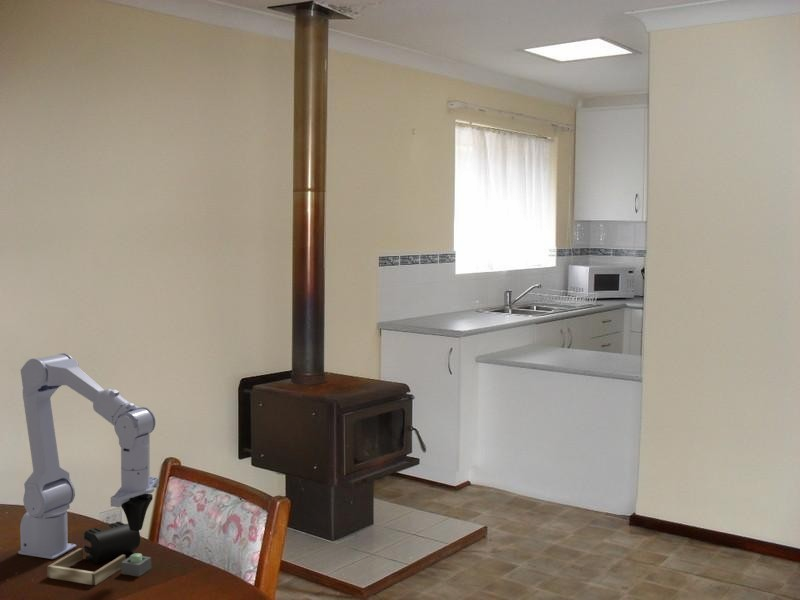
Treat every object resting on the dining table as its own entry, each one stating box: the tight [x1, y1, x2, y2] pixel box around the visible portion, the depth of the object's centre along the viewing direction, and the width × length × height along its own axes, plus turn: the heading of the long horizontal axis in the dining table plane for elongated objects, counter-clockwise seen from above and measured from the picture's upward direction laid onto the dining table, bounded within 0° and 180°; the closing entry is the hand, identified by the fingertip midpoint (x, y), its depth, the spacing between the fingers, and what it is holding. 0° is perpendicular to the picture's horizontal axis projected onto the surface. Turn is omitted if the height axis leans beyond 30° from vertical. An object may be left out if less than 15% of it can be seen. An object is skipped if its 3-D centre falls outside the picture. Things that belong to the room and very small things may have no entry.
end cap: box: [83, 521, 141, 564], centre depth 189 cm, size 10×7×7 cm
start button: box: [129, 552, 143, 563], centre depth 182 cm, size 2×2×3 cm
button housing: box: [120, 555, 152, 578], centre depth 182 cm, size 4×4×2 cm
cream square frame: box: [46, 547, 127, 586], centre depth 181 cm, size 12×10×2 cm
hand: (135, 529), depth 181 cm, fingers closed
